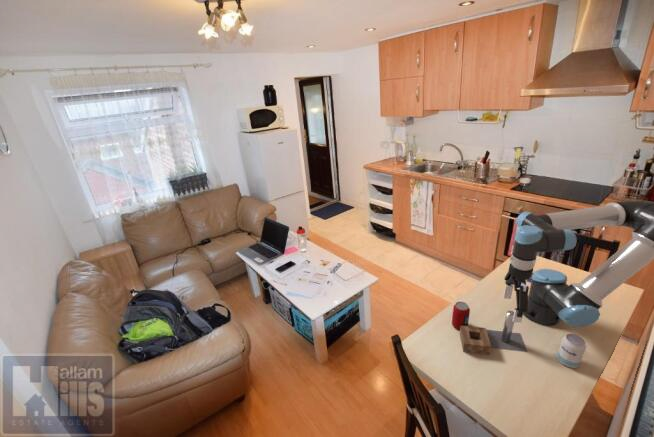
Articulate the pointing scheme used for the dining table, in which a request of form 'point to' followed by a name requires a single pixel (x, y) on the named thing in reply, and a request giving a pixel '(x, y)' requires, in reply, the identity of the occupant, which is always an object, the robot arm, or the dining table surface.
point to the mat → (514, 344)
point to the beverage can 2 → (571, 350)
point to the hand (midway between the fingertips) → (511, 309)
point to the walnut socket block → (475, 340)
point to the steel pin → (507, 327)
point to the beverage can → (460, 315)
